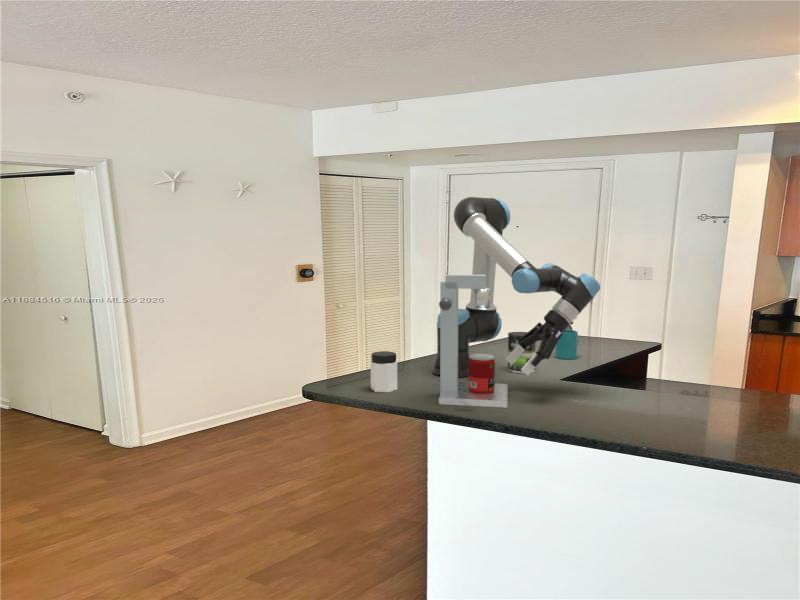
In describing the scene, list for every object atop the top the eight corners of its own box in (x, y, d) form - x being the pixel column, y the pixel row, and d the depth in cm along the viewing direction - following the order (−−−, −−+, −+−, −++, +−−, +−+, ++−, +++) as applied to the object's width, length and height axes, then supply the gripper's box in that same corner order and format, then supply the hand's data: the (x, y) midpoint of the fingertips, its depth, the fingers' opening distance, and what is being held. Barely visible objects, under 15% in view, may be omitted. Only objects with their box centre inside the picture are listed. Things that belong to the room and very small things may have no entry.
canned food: (494, 394, 163) (494, 358, 162) (467, 393, 165) (467, 357, 164) (494, 388, 171) (495, 353, 170) (469, 387, 172) (469, 353, 171)
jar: (400, 391, 175) (400, 355, 174) (376, 393, 172) (376, 356, 171) (391, 385, 184) (391, 350, 182) (368, 387, 181) (367, 351, 180)
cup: (586, 357, 228) (586, 331, 227) (567, 360, 222) (568, 333, 220) (568, 353, 236) (569, 328, 235) (550, 357, 229) (550, 330, 228)
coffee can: (533, 374, 198) (533, 336, 196) (505, 372, 201) (505, 334, 200) (537, 368, 207) (537, 332, 206) (510, 366, 211) (510, 331, 210)
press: (445, 387, 180) (445, 273, 176) (507, 390, 176) (509, 273, 172) (435, 406, 158) (435, 277, 154) (507, 410, 154) (509, 277, 150)
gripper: (588, 331, 158) (540, 385, 158) (551, 318, 182) (510, 365, 182) (571, 314, 156) (523, 369, 156) (536, 303, 181) (494, 351, 181)
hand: (516, 367), depth 169 cm, fingers open, 13 cm apart
